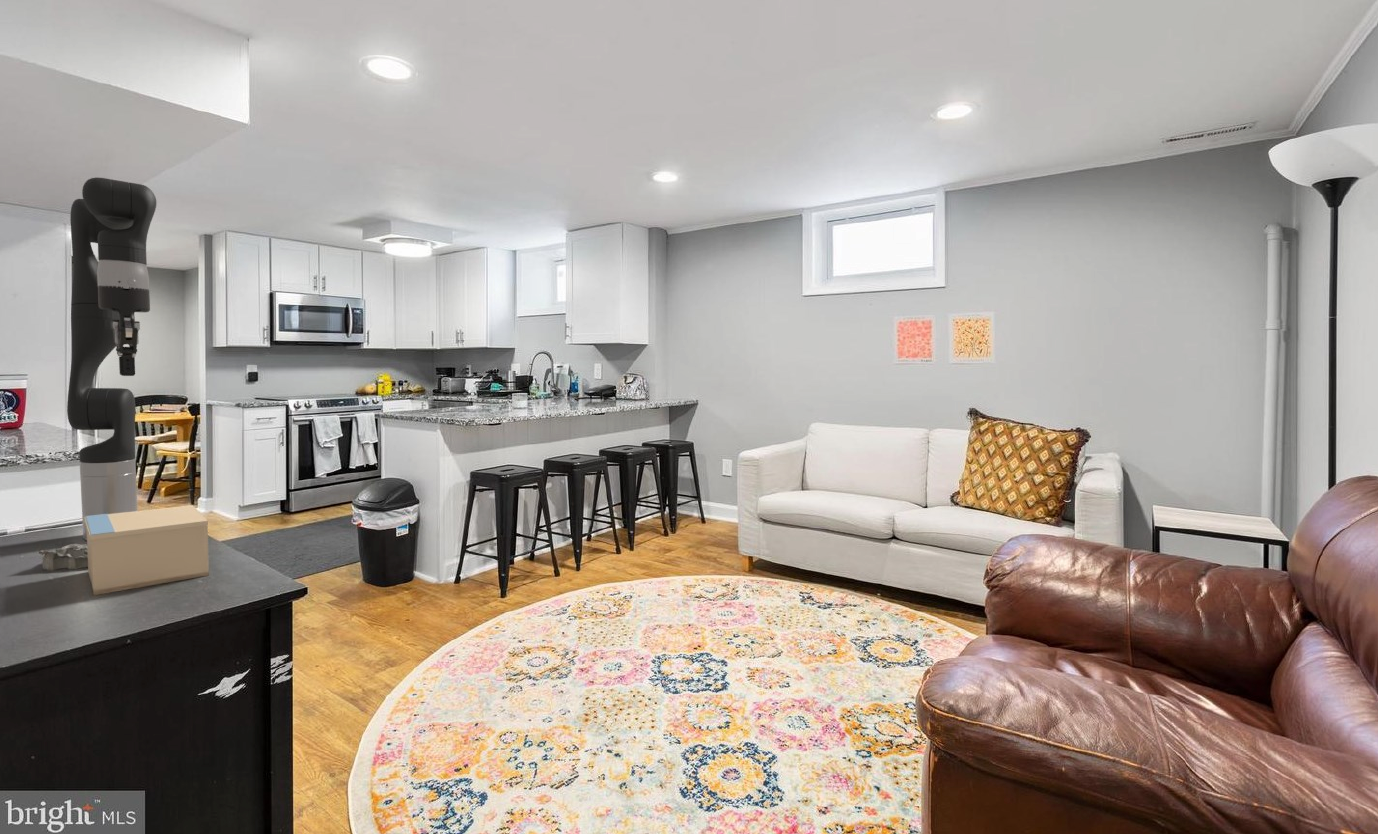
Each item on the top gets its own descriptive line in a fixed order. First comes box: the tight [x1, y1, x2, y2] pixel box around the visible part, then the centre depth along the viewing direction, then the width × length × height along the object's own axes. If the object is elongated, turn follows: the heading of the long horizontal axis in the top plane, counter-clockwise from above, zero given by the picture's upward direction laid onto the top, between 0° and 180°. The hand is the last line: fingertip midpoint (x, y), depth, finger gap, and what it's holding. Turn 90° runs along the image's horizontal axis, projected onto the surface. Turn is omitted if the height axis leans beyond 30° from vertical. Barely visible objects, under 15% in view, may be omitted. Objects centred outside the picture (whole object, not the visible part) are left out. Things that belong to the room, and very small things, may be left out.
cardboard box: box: [86, 525, 210, 596], centre depth 121 cm, size 16×16×10 cm
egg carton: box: [38, 543, 88, 571], centre depth 125 cm, size 11×8×4 cm
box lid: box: [84, 504, 209, 540], centre depth 120 cm, size 16×16×1 cm
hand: (127, 375), depth 125 cm, fingers closed
